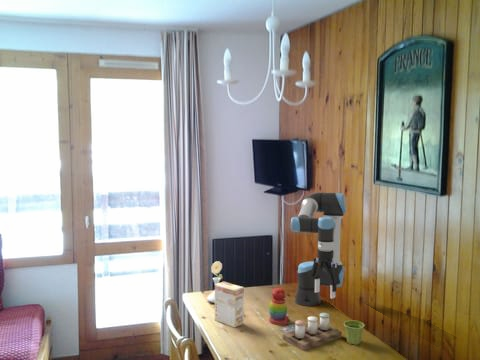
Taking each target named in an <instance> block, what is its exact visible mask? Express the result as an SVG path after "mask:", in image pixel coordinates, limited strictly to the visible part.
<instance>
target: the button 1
mask: <svg viewBox="0 0 480 360" xmlns="http://www.w3.org/2000/svg"><path fill="white" fill-rule="evenodd" d="M294 324H295V336H296V337H297V338H304V337H305V326H306V321H305V320H302V319H297V320H295V321H294Z"/></svg>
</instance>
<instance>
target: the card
mask: <svg viewBox="0 0 480 360" xmlns="http://www.w3.org/2000/svg"><path fill="white" fill-rule="evenodd" d="M305 327H308V325H305ZM278 331H280V332H282V333H283V334H285V333H289V332H292V331H295V323H293V324H290V325H285V326H282V327H280V328H278Z"/></svg>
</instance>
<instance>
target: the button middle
mask: <svg viewBox="0 0 480 360" xmlns="http://www.w3.org/2000/svg"><path fill="white" fill-rule="evenodd" d="M318 319H319V318H318V317H317V316H308V317H307V327H308V333H310V334H312V335H313V334H316V333H317V323H318Z"/></svg>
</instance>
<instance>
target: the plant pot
mask: <svg viewBox="0 0 480 360" xmlns="http://www.w3.org/2000/svg"><path fill="white" fill-rule="evenodd" d="M343 325H344V328H345V335H346V341H347V343H348V344H349V345H360V344H361V340H362V334H363V331H364V330H363V329H364V327H365V324H364V323H363V322H362V321H359V320H353V319H352V320H350V319H349V320H346V321H344V322H343Z"/></svg>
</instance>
